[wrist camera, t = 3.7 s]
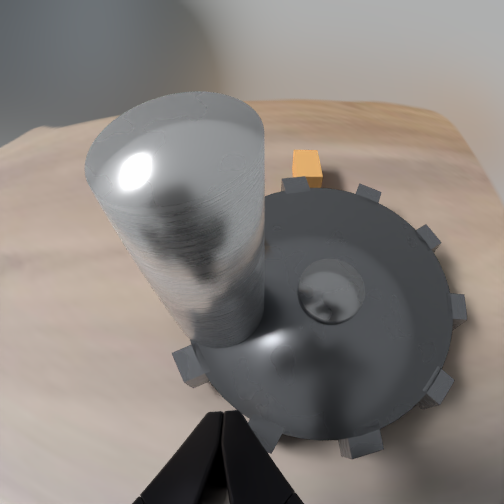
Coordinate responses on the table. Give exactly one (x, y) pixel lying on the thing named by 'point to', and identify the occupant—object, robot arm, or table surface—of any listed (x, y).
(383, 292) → the sprocket
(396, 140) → the table surface
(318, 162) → the orange rectangular block
